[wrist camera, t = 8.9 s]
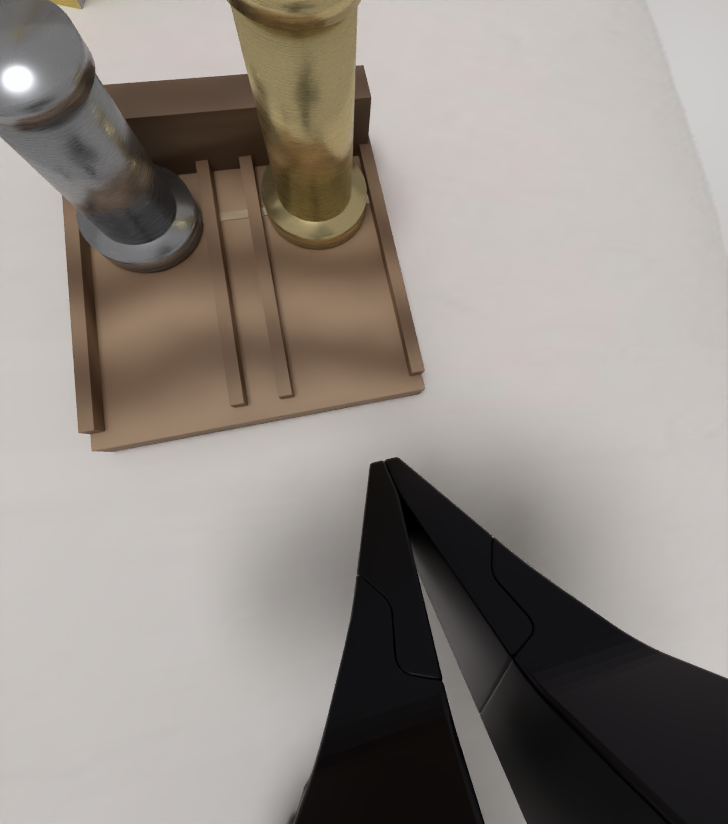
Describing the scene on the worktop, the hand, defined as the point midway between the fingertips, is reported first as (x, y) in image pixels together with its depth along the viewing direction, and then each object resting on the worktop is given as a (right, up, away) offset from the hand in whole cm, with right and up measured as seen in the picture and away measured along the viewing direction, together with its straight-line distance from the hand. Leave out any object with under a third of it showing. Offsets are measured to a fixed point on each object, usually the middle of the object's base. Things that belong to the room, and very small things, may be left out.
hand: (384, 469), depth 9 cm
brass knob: (-4, +16, +12) cm, 20 cm away
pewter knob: (-15, +14, +11) cm, 23 cm away
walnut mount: (-9, +11, +12) cm, 18 cm away
